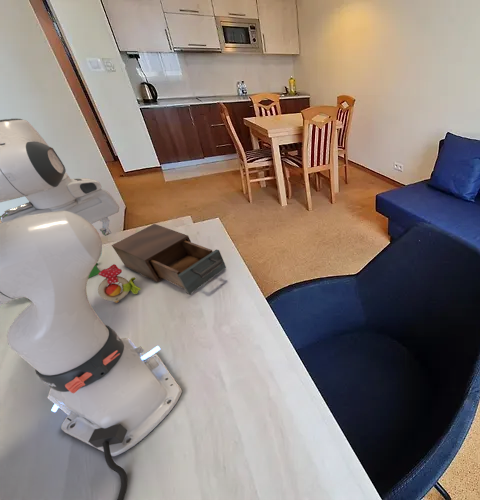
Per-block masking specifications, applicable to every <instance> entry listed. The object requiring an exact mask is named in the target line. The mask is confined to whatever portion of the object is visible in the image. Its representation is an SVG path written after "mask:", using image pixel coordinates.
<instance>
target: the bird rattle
mask: <svg viewBox="0 0 480 500" xmlns="http://www.w3.org/2000/svg"><path fill="white" fill-rule="evenodd" d="M122 272H123V270H122V268H119V267H118V266H117V265H116V264H115V263H114V264H111V266H109V267H107V268H104V269H102V270H101V271H100V272H99V274H98V275H99V276H100V277H103V278H104V279H103V280H102V281H101V282H100V283H99V284H98V288H97V293H98V295H99V296H100V297H101V298H102V299H103V300H105V301H108V302H114V303H119V302H120V301H121V300H122V299H124V298H125V297H126V296H127V295H128V294H129V292H131V293H132V294H134V295H137V294H139V292H140V291H141V290H142V288H141V287H139V286H137V285H136V283H135V281H136V280H137V277H134V276H133V277H131V278H130V279H129V280H127V279H126V278H125V277H123V276H121V275H120V274H121V273H122ZM120 284H121V285H120Z"/></svg>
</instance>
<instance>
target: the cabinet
mask: <svg viewBox="0 0 480 500" xmlns="http://www.w3.org/2000/svg"><path fill="white" fill-rule="evenodd" d="M184 240H186V241H189V242H192V241H191V239H190V237H189V235H188V234H185V233H181V232H179V231H176V230H173V229H171V228H168V227H165V226H162V225H159V224H157V223H153V224H151V225H149V226H147V227H145V228H143V229H141V230H139V231H137V232H135V233H133V234H130V235H129V236H127V237H125V238H123V239H121V240H119V241H117V242H115V243H113V244H111V247H112V248H113V250H114V251H115V254H117V256H118V257H119V259H120V261H121V263H122V264H123V265H124V267H126V268H128V269H130V270H133V271H134V272H136V273H138V274H140V275H141V276H144V277H146V278H148V279H149V280H152V281H154V282H156V283H160V282H162V281H163V280H164V279H163V278H161V277H159V276H157V275H156V273H155V272H154V270H153V268H152V267H151V265H150V263H149V260H151V259H153V258H155V257H156V256H158V255H160V254H161V253H163V252H165V251H167V250H168V249H170V248H172V247H173V246H175V245H177V244H179V243H180V242H182V241H184Z"/></svg>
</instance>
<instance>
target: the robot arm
mask: <svg viewBox="0 0 480 500" xmlns="http://www.w3.org/2000/svg"><path fill="white" fill-rule="evenodd" d="M66 171H67V169H66V166H65V165H64V163H63V161H62V160H61V158H60V157H59V155H58V154H57V152H56V151H55V149H54V148H53V147H52V146H49V144H48V143H47V142H46V140H45V139H44V138H43V137H42V135H41V134H40V133H39V131H37V129H36V128H35V127H34V126H33V125H32V124H31V123H30V122H29V121H28V120H26V119H23V118H4V119H0V203H3V202H9V201H12V200H16V199H20V198H24V197H25V199H26V200H27V201H28V202H26V203H23V204H20V205H18V206H16V207H13V208H9V209H6V210H4V213H2V214H1V215H0V216H1V218H0V220H1V222H2V223H0V306H2V305H4V304H7V303H10V302H12V301H15V300H18V299H19V300H20V299H22V298H27V299H28V300H29V301H30V304H29V305H27V307H25V308H24V309H23V310H22V311H21V312H20V313H19V314H18V315H17V316H16V318H14V320H13V321H12V323H11V324H10V326H9V327H8V330H7V334H6V341H7V344H8V346H9V348H10V349H11V350H12V351H13V352H14V353H15V354H17V355H18V356H19V357H20V358H22V359H23V360H24V361H25V362H26V363H27V364H28V365H30V366H31V367H32V368H33V369H34V373H35V375H36V376H38V378H39V380H41V382H43V383H44V384H45V385H47V386H48V387H49V391H48V395H47V399H48V400H49V401H50V402H51V403H53V406H52V408H51V412H53V413H56V412H57V411H58V409H60V410H61V411H62V412H64V413H65V414H66V415H67V416H66V417H65V419H64V420H63V422H62V423H61V426H60V429H61V430H62V431H63V432H64V433H65V434H67V435H69V436H71V437H73V438H75V439H77V440H79V441H81V442H83V443H84V444H87V445H89V446H91V447H93V448H95V449H97V450H99V451H101V452H103V456H104V460H105V462H106V465H107V467H108V468H109V469H110V470H112V471H113V472H115V473H116V474H118V476H119V479H120V488H119V494H118V496H117V498H116V500H124V498H125V494H126V491H127V486H128V477H127V473H126V470H125V469H124V468H123V467H122V466H120V465H118V464H117V463H115V461H114V459H113V457H117V456H119V455H121V454H123V453H125V452H126V451H128V450H130V449H131V448H133V447H135V446H136V445H137V444H138V443H140V441H142V440H143V439H145V438H146V436H148V435H149V434H150V433H151V432H152V431H153V430H154V429H155V428H156V427H158V426H159V424H160V423H162V421H163V420H165V418H166V417H167V415H169V414H170V412H171V411H172V410H173V409H174V407H175V405H176V404H177V403H178V401H179V399H180V398H181V396H182V393H183V390H182V388H181V386H180V385H179V384H178V382H177V381H176V379H175V378H174V377H173V375H172V373H171V372H170V371H169V369H168V367H167V366H166V365H165V364H164V362H163V360H162V359H161V358H160V356H159V355H158V354H157V353H158V352H159V351H160V350H161V348H160V346H159V345H157V346H155V347H153V348H152V349H151V350H150V351H148V352H146V353H145V350H144V348H143V346H138V347H137V346H136V345H135V344H134V342H133V341H132V340H131V339H130V338H129V337H127V338H126V337H122V338H120V337H119V334H118V333H117V332H116V331H115V330H114V329H113V328H111V327H110V326H109V325H108V324H105V323H104V322H103V321H102V320H101V318H100V317H99V316H98V314H97V313H96V311H95V310H94V308H93V306H92V305H91V303H90V301H89V298H88V293H87V285H88V280H89V278H88V277H89V275H90V273H91V271H92V269H93V267H94V266H95V265H96V263H98V262H99V260H100V259H101V256H102V251H103V242H102V241H103V240H102V238H101V236H100V233H99V232H101V234H102V235H103V236H105V237H106V236H108V235H111V234H112V231H111V230H110V219H109V217H111V216H113V215H115V214H117V213H119V212H120V205H119V204H118V202H117V201H116V200H115V198H114V196H112V194H110V192H109V191H107V190H106V189H104V188H102V184H101V183H100V182H99V181H98V180H96V179H94V178H89V177H78V178H71V177H70V176H69V174H68V173H67V172H66ZM5 215H8V216H5ZM4 216H5V217H4ZM98 222H102V227H101V228H99V231H98V230H97V229H96V227H95V226H94V225H93V224H95V223H98ZM142 353H145V354H142Z"/></svg>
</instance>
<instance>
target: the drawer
mask: <svg viewBox="0 0 480 500" xmlns="http://www.w3.org/2000/svg"><path fill="white" fill-rule="evenodd" d="M149 263H150V265H151V267H152V268H153V270H154V272H155V273H156V275H157V276H159V277H161V278H163V280H165V281H167V282H169V283H171V284H172V285H173V284H174V285H175V286H177V287H179V288H182V289H184V291H185V293H186V294H188V295H191V294H192V293H194V292H195V291H196V290H198V289H199V288H200V287H202V286H203V285H204V284H206V283H207V282H209V281H210V280H211V279H213V278H214V277H215V276H217V275H218V274H220V273H221V272H222V271H224V270H225V269H226V268H227V266H226V263H225V261H224V259H223V256H222V254H221V251H220V249H214V250H213V249H210V248H208V247H205V246H202V245H199V244H197V243H194V242H192V241H191V242H189V241H186V240H184V241H182V242H180V243H179V244H177V245H175V246H173V247H172V248H170V249H168V250H167V251H165V252H163V253H161V254H160V255H158V256H156V257H155V258H153V259H151V260H149Z"/></svg>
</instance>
